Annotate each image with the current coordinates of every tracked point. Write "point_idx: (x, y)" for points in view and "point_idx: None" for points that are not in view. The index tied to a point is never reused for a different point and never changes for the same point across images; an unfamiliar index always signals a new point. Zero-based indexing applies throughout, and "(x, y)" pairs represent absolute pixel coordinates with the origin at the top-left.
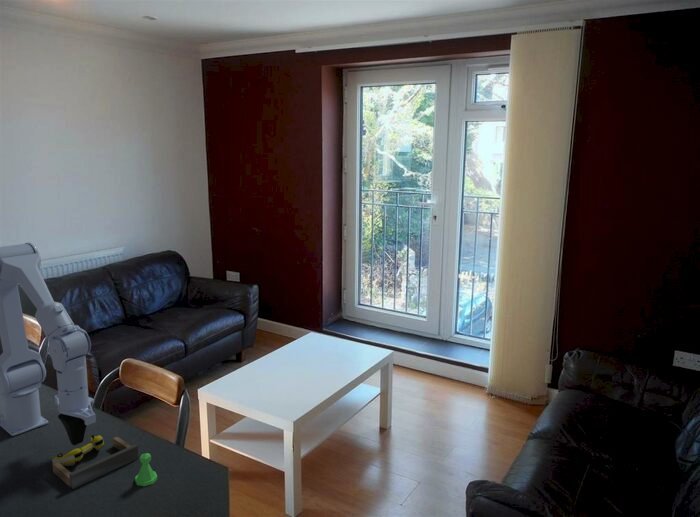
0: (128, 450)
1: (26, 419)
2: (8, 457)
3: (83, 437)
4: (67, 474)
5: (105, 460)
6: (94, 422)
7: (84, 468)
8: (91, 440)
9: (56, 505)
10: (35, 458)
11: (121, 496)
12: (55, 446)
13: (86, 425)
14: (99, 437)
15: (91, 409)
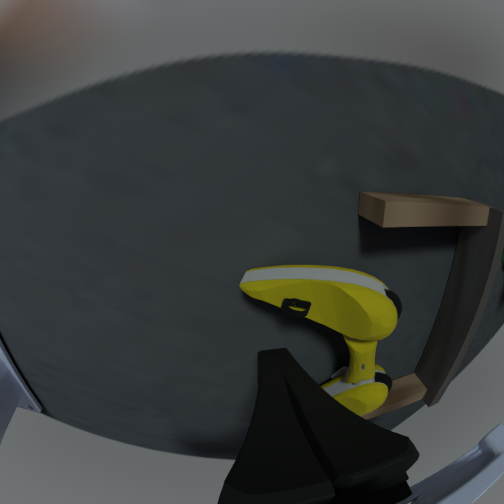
0: (501, 250)
1: (4, 404)
2: (150, 446)
3: (296, 361)
4: (407, 402)
5: (476, 329)
6: (496, 427)
7: (448, 379)
8: (315, 319)
9: (421, 400)
10: (204, 423)
11: (500, 304)
12: (164, 377)
13: (345, 408)
14: (392, 318)
15: (491, 484)
